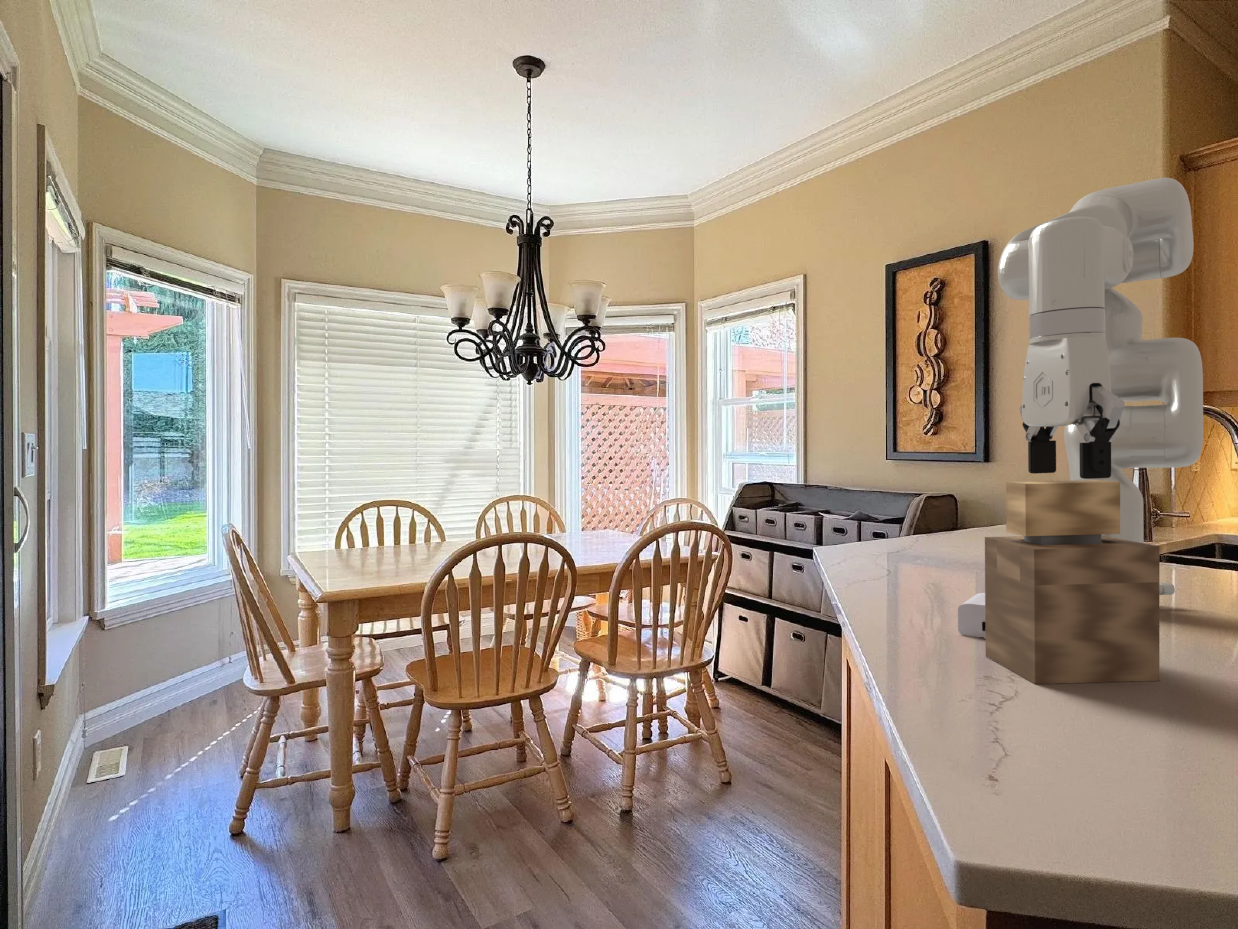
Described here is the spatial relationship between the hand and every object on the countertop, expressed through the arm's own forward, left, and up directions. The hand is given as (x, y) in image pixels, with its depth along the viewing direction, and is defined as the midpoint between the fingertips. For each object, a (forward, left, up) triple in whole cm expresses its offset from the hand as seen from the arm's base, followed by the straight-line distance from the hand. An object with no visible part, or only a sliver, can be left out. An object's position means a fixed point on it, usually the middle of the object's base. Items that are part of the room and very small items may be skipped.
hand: (1067, 475), depth 85 cm
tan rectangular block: (+1, 0, -12) cm, 12 cm away
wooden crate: (0, 0, -23) cm, 23 cm away
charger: (-3, -18, -23) cm, 29 cm away
